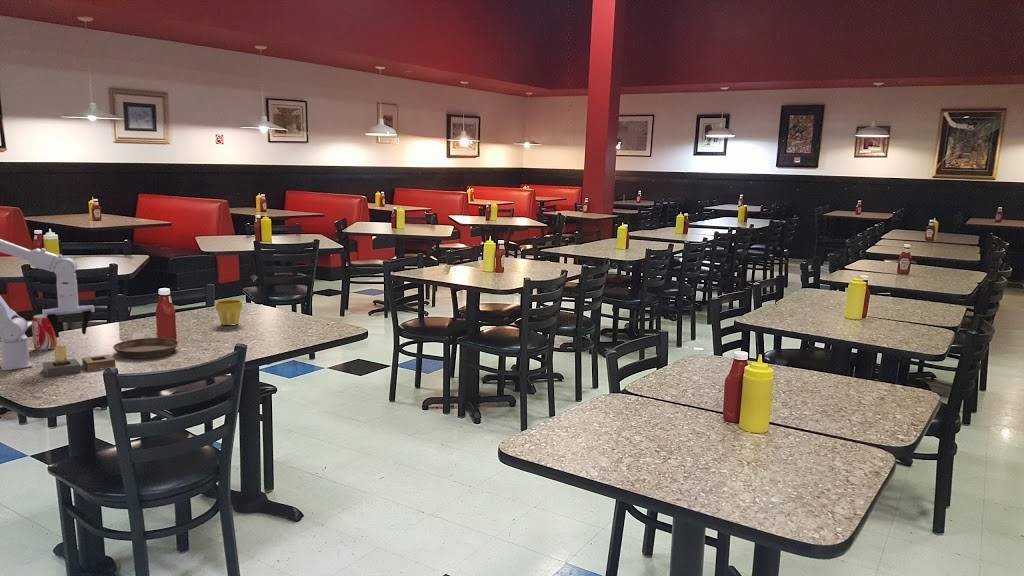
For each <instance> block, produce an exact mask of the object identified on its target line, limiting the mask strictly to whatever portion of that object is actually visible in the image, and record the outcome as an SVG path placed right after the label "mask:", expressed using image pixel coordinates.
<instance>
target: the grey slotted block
mask: <svg viewBox="0 0 1024 576" xmlns="http://www.w3.org/2000/svg"><path fill="white" fill-rule="evenodd" d="M42 371H43V372H44V374H45V375H46V376H47V377H49V376H51V377H56V376H55V375H58V376H63V375H62V374H65V375H69V373H72V374H78V373H77V372H79V373H81V372H82V364H81V363H79V361H78V360H77V359H76V358H75V357H74V358H67V365H61V366H56V360H52V361H46V362H42ZM49 378H50V377H49Z"/></svg>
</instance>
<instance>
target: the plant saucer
mask: <svg viewBox="0 0 1024 576" xmlns="http://www.w3.org/2000/svg"><path fill="white" fill-rule="evenodd" d="M178 345H179V341H178V340H176V339H172V338H168V337H167V338H165V337H145V338H135V339H129V340H124V341H120V342H118V343H116V344H114V345H113V346H112V349H113V350H114V351H115V352H116V353H117V354H119V355H120V356H122V357H124V358H129V359H148V358H149V359H151V358H157V357H162V356H167V355H168V354H170V353H172V352H173V351H174V350H175V349H176V348H177V346H178Z"/></svg>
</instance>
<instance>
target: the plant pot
mask: <svg viewBox="0 0 1024 576" xmlns="http://www.w3.org/2000/svg"><path fill="white" fill-rule="evenodd" d="M214 305H215V310H216V312H217V315H218V318H219V320H220V321H219V322H220V324H223V325H231V324H236V323H238V324H239V322H240V316H241V311H242V309H243V301H242V300H240V299H222V300H217V301H216V302H215V304H214Z"/></svg>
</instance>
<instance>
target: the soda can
mask: <svg viewBox="0 0 1024 576" xmlns="http://www.w3.org/2000/svg"><path fill="white" fill-rule="evenodd" d="M32 316H33V317H32V318H33V319H32V320H31V332H32V344H33V348H34V349H35V350H37V351H41V350H44V351H49V350H48V349H51V350H53V348H54V349H55V347H56V346H58V344H57V343H58V342H57V341H58V340H57V338H58V337H56V336H55V332H54V330H53V327H52V325H51V323H50V321H49V320H48V318H47V317H46V316H43V314H35V315H32Z"/></svg>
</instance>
